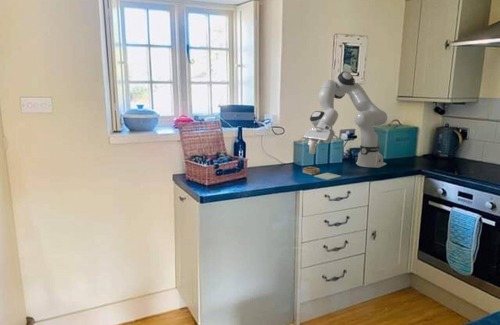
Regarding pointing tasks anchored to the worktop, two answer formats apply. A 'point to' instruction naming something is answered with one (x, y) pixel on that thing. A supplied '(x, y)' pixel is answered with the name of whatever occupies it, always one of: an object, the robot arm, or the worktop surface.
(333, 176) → the tile pad
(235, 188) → the worktop surface
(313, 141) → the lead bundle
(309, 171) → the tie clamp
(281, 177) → the worktop surface
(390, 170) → the worktop surface
